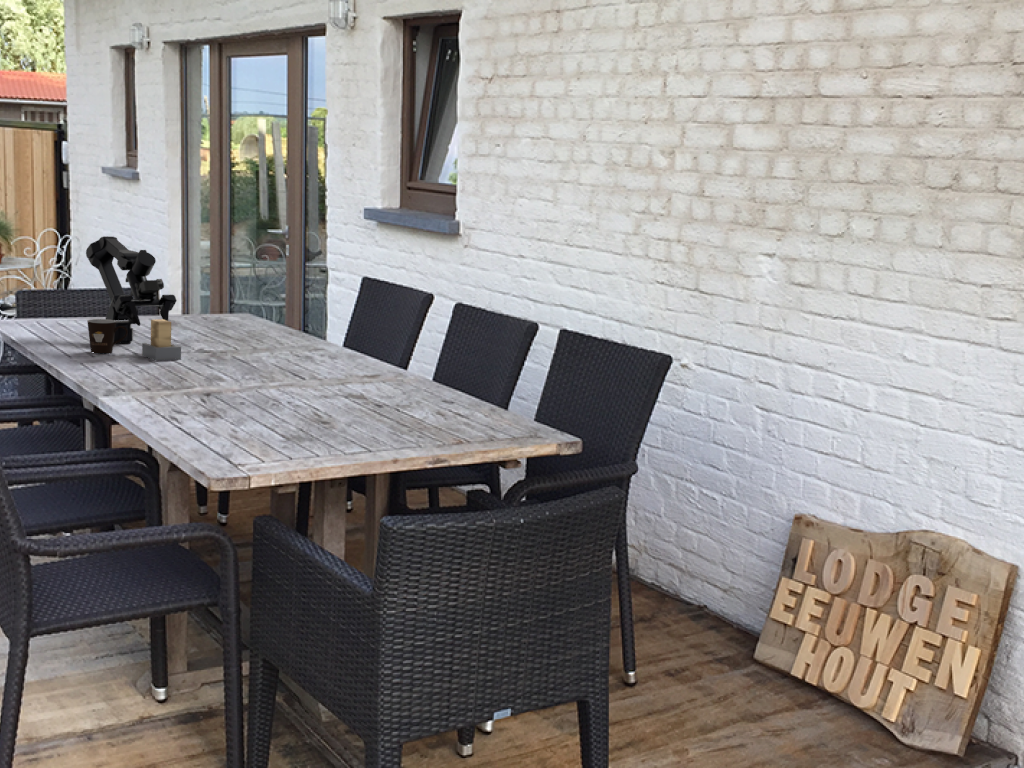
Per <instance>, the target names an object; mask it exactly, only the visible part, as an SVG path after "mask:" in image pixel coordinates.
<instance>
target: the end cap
mask: <svg viewBox="0 0 1024 768" xmlns="http://www.w3.org/2000/svg"><path fill="white" fill-rule="evenodd" d="M141 344H142V345H141V349H142V350H141V356H142V357H144V356H145V357H144V358H147V357H148V358H147V359H149V358H150V359H149V360H152V361H155V362H159V361H160V360H162V361H173V360H174V361H175V360H176V361H177V359H179V360H182V346H180V345H176V344H174V343H172V342H171V347H155V346H153V345H151V343H147V342H142V343H141Z"/></svg>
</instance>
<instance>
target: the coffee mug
mask: <svg viewBox="0 0 1024 768" xmlns="http://www.w3.org/2000/svg"><path fill="white" fill-rule="evenodd" d="M118 328H123V329H125V331H126V335H125V336H124V337H123V338H121V339H120V340H118V341H116V342H114V335H115V332H116V330H117V329H118ZM87 329H88V331H87V332H88V338H89V347H90V348H89V349H90V353H91V352H94V353H110V354H113V349H114V348H113V347H114V346H115V345H116V344H119V343H118V342H119V341H121V340H123V339H124V338H125V337H126V336H127V334H128V331H127V328H125V327H124V326H118V327H116V321H115V320H108V319H106V318H96V319H92V318H91V319H88V320H87ZM94 353H93V354H94Z"/></svg>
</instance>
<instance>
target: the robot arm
mask: <svg viewBox="0 0 1024 768" xmlns="http://www.w3.org/2000/svg"><path fill="white" fill-rule="evenodd" d="M85 255H86V258H87V260H88V261H89V263H90V265H91V266H93V267H94V268H95V269H96V270H98V272H99V274H100V277H101V280H102V282H103V284H104V286H105V289H106V293H107V294H108V296H109V300H110V301H111V302H110V303H109V304H110V305H109V307H108V312H107V313H106V316H105V319H108V320H114V321H116V327H118V326H124V327H125V328H127V331H128V334H127V336H126V337H125V338H124V339H123V340H121V341H119V342H118V343H117V344H131V343H132V342H133V340H134V328H133V327H132V325H136V326H138V327H140V326H141V319H140V318H139V309H138V307H158V309H159V314H160V316H161V319H164V320H167V321H169V316H170V315H169V312H170V311H172V310H173V308H174V306H175V304H176V303H177V297H176V296H175V294H162V295H161V297H160V298H158V299H157V298H155V297H156V296H157V292H159V291H161V290H163V289H164V287H165V283H164V281H163V279H162V278H156V279H153V280H152V279H150V280H149V279H147V277H148V276H149V275H150V274H151V272H152V269H153V268H154V266H155V264H156V262H157V261H156V257H155V256H154V255H153V254H151V253H149V252H148V251H147V250H146V249H139V251H136V250H135V251H134V250H130V249H129V248H127V247H126V246H125V245H124V244H123V243H121V241H119V240H118V238H117V236H116V237H115V236H107V235H106V236H104V235H103V236H101V237H99V239H98V240H96V241H93V242H92V243H90V244H89V245H88V247H87V248H86V251H85ZM114 258H115V260H116V261H117V263H116V264H117V267H118V268H119V269H120V270H121V271H127V273H126V276H125V277H126V278H125V283H128V285H129V287H130V290H131V291H130V294H125V291H124V289H123V287H122V285H121V281H120V279H119V277H118V274H117V272H116V269H115V266H114V265H113V261H114ZM125 335H126V331H125V329H123V328H118V329H117V330H116V332H115V335H114V342H116V341H118V340H120V339H121V338H123V337H124V336H125Z"/></svg>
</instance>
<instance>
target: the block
mask: <svg viewBox="0 0 1024 768" xmlns="http://www.w3.org/2000/svg"><path fill="white" fill-rule="evenodd" d="M171 343H172V321H170V320H168V321H167V320H164V319H162V318H161V319H156V318H155V319H150V345H153V346H155V347H171Z"/></svg>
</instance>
